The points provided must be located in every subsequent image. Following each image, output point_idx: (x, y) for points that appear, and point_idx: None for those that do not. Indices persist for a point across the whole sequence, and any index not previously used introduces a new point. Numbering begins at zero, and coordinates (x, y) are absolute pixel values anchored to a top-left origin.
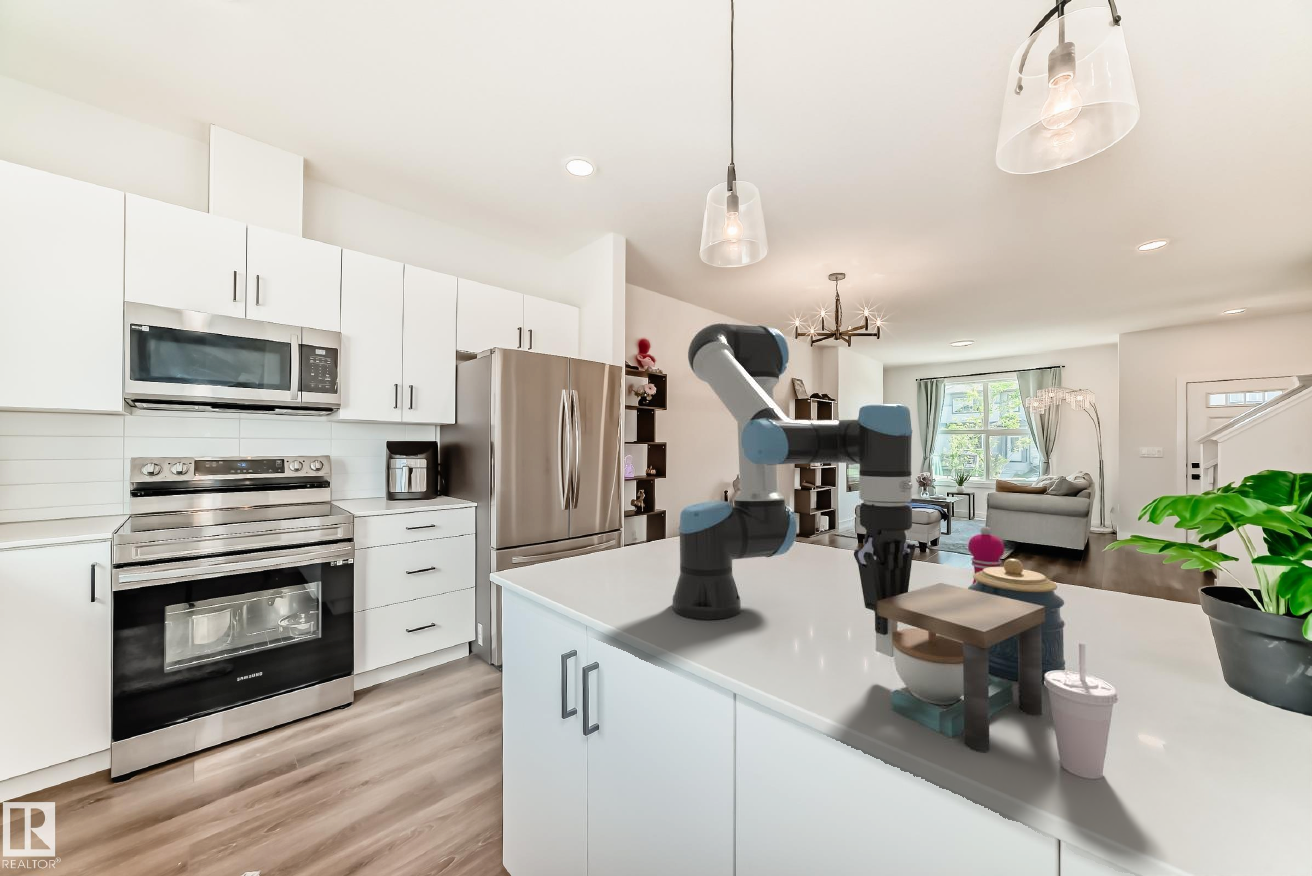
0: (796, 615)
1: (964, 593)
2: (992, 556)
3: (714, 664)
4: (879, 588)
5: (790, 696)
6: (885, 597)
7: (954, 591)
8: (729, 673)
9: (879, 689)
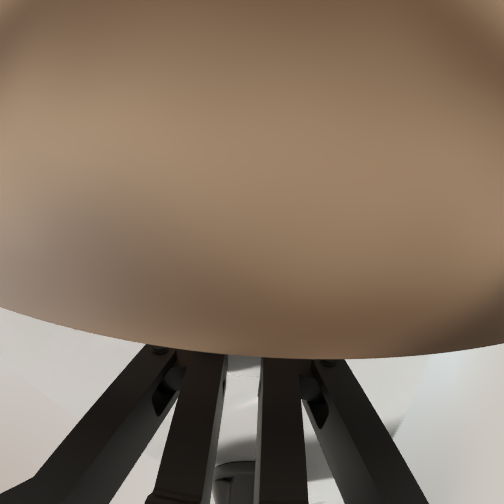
0: (165, 431)
1: (4, 130)
2: None
3: (401, 401)
4: (355, 431)
5: None
6: (299, 393)
7: (13, 186)
8: (415, 381)
9: None
